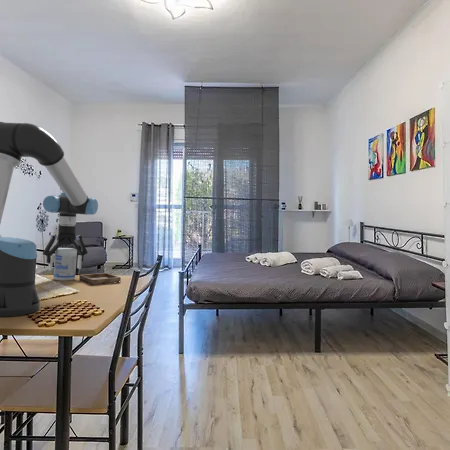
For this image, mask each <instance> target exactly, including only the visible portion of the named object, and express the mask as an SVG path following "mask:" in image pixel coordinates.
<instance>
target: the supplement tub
mask: <svg viewBox="0 0 450 450" xmlns="http://www.w3.org/2000/svg"><path fill="white" fill-rule="evenodd" d="M77 260H78V252H77V249H75V248H74V247H72V248H71V247H59V248H58V249H57V250H56V251H55V252H54V265H53V266H54V267H53V280H56V281H60V282H61V281H64V282H65V281H73V280H75V278H76V269H77Z"/></svg>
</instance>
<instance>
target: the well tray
mask: <svg viewBox="0 0 450 450" xmlns="http://www.w3.org/2000/svg"><path fill="white" fill-rule="evenodd" d="M78 277H79V279H78V280H79V281H80V282H83V283H85V284H87V285H91V286H99V285H108V284H109V283H111V284H115V283H114V282H119V281H120V282H122V281H121V279H122V278H121V276H118V275H114V274H111V273H108V272H100V273H98V272H97V273H89V274H88V273H87V274H85V273H84V274H79V276H78Z"/></svg>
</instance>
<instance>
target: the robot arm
mask: <svg viewBox="0 0 450 450" xmlns="http://www.w3.org/2000/svg"><path fill="white" fill-rule="evenodd" d="M22 157H23V158H24V157H25V158H33V159H35V160H36V161H37V162H38V164H40V165H41V166H43V167H45V169H46V170H47V171H48V173H49V175H50V176H51V177H52V178H53V180H54V181H55V183H56V184H57V186H58V187H59V188H60V190H61V191H62V192H61V193H60V195H55V194H53V195H47V196H45V198H44V199H43V201H42V207H43V209H44V211H46V212H48V213H51V214H52V213H54V214H55V213H56V214H57V213H58V215H59V216H58V217H59V218H58V224H59V226H58V230H57V232H58V235H54V234H51V236H50V239H49V241H48V243H47V245H46V246H45V248H44V250H43V252H42V255H44V256H46V264H48V265H47V266H48V267H47V268H48V269H47V270H48V271H53V261H54V260H53V259H54V257H53V256H52V255H53V254H55V251H56V250H57V249H58V248H61V246H62V245H64V246H66V245H67V246H68V245H69V246H72V248H73V249H77V263H76V269H79V270H81V269H82V263H83V262H84V256H85V255H87V254H88V250H87V247H86V246H85V244H84V241H83V235H80V234H78V235H76V230H77V229H76V228H77V227H76V226H75V225H77V215H87V216H88V215H89V216H91V215H96V214H97V213H98V208H99V202H98V200H97V199H96V198H95V197H89V196H88V195H87V193H86V191H85V190H84V188H83V186H82V185H81V183H80V182H79V180H78V178H77V177H76V175H75V173H74V171H73V170H72V168H71V167H70V165H69V163H68V162H67V160H66V158H65V152H64V150H63V148H62V146H61V145H60V143H59V142H58V141H57V140H56V139H55V138H54V137H53V135H51V134H50V133H49V132H48V131H46V130H45V129H43V128H42V127H41V126H40V127H39V126H37V125H36V124H34V123H33V124H32V123H28V122H24V123H23V122H22V123H21V122H4V121H0V224H1V223H2V218H3V214H4V211H5V206H6V203H7V198H8V193H9V189H10V184H11V181H12V179H13V178H12V177H13V173H14V168H15V167H16V168H17V166H18V167H19V166H20V164H21V162H22V161H21V160H22ZM56 240H58V241H57V242H56V243H55V241H56ZM75 240H77V242H78V244H79V246H80V247H79V246H78V244H77V242H76V241H75ZM54 243H55V244H54ZM53 245H54V246H53ZM37 251H38V250H37V245H36V244H35V242H34V241H31V240H30V239H26V238H25V239H24V238H19V237H10V236H9V237H8V236H2V235H1V234H0V317H1V318H2V317H19V316H25V315H26V316H27V315H30V314H33V313H36V312H38V311H39V310H40V307H41V301H40V298H39V294H38V292H37V287H36V274H37V273H36V272H37V258H38V254H37Z"/></svg>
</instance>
